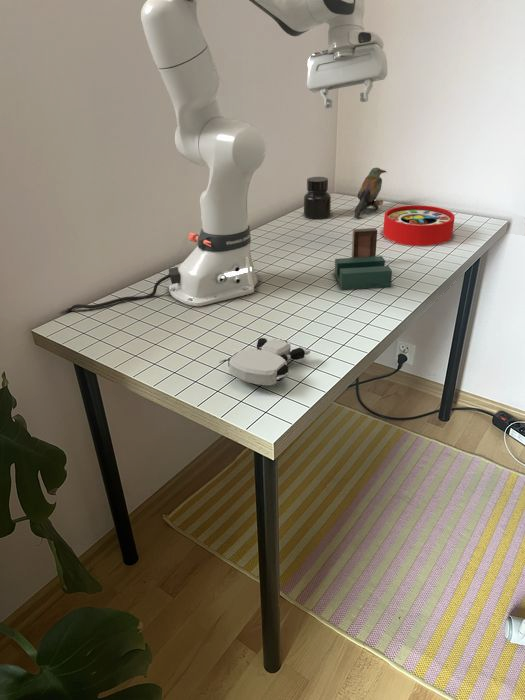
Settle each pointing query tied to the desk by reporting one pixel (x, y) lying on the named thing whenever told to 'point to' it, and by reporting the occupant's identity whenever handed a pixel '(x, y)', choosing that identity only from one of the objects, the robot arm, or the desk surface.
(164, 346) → the desk surface
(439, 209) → the toy clock
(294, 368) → the desk surface
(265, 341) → the robot toy
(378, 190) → the bird figurine
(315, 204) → the ink bottle
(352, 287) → the holder
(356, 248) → the frame
